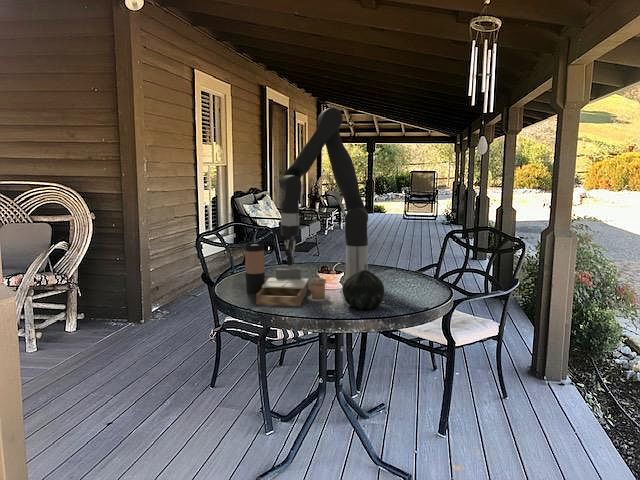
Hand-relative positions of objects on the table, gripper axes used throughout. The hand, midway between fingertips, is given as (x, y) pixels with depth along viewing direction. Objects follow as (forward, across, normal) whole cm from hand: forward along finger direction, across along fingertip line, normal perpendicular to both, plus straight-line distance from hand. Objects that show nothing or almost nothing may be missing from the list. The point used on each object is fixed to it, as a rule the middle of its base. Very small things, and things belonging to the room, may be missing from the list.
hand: (289, 264), depth 211 cm
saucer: (+9, +17, +14) cm, 24 cm away
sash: (+5, +12, +1) cm, 13 cm away
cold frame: (+10, +17, +1) cm, 20 cm away
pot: (+9, +17, +14) cm, 24 cm away
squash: (+9, +25, +32) cm, 42 cm away
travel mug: (+10, +10, -12) cm, 19 cm away
